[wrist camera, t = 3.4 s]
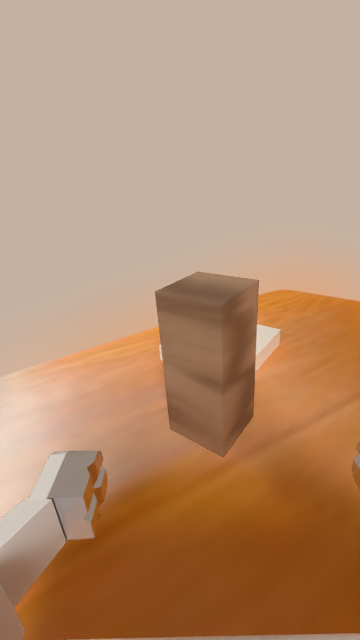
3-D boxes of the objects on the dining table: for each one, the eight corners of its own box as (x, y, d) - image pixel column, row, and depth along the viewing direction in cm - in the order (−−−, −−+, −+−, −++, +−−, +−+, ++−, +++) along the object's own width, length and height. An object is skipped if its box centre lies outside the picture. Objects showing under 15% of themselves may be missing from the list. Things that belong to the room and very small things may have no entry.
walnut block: (203, 395, 28) (197, 271, 23) (253, 416, 26) (258, 280, 21) (170, 428, 25) (155, 291, 20) (223, 457, 22) (221, 305, 17)
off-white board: (207, 326, 42) (207, 312, 41) (279, 344, 36) (280, 329, 35) (160, 360, 34) (158, 345, 34) (240, 390, 29) (240, 372, 28)
